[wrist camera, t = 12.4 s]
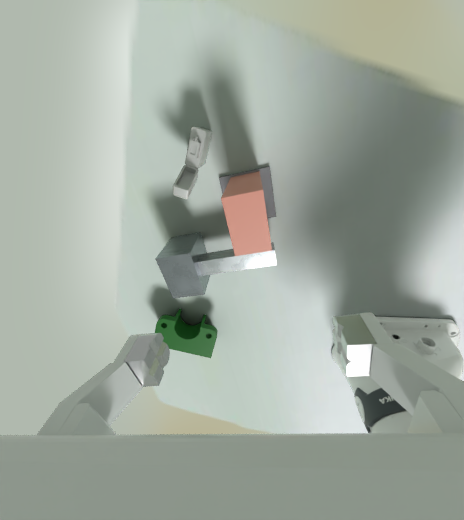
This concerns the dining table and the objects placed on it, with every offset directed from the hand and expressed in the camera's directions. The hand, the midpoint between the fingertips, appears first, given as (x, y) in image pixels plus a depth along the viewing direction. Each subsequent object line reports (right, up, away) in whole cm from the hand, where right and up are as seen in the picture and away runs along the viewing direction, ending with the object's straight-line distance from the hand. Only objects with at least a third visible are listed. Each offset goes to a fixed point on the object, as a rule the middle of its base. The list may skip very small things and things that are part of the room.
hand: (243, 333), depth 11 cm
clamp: (-9, -9, +35) cm, 37 cm away
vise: (-2, +5, +26) cm, 27 cm away
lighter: (-5, +17, +20) cm, 27 cm away
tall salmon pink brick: (+2, +12, +21) cm, 25 cm away
